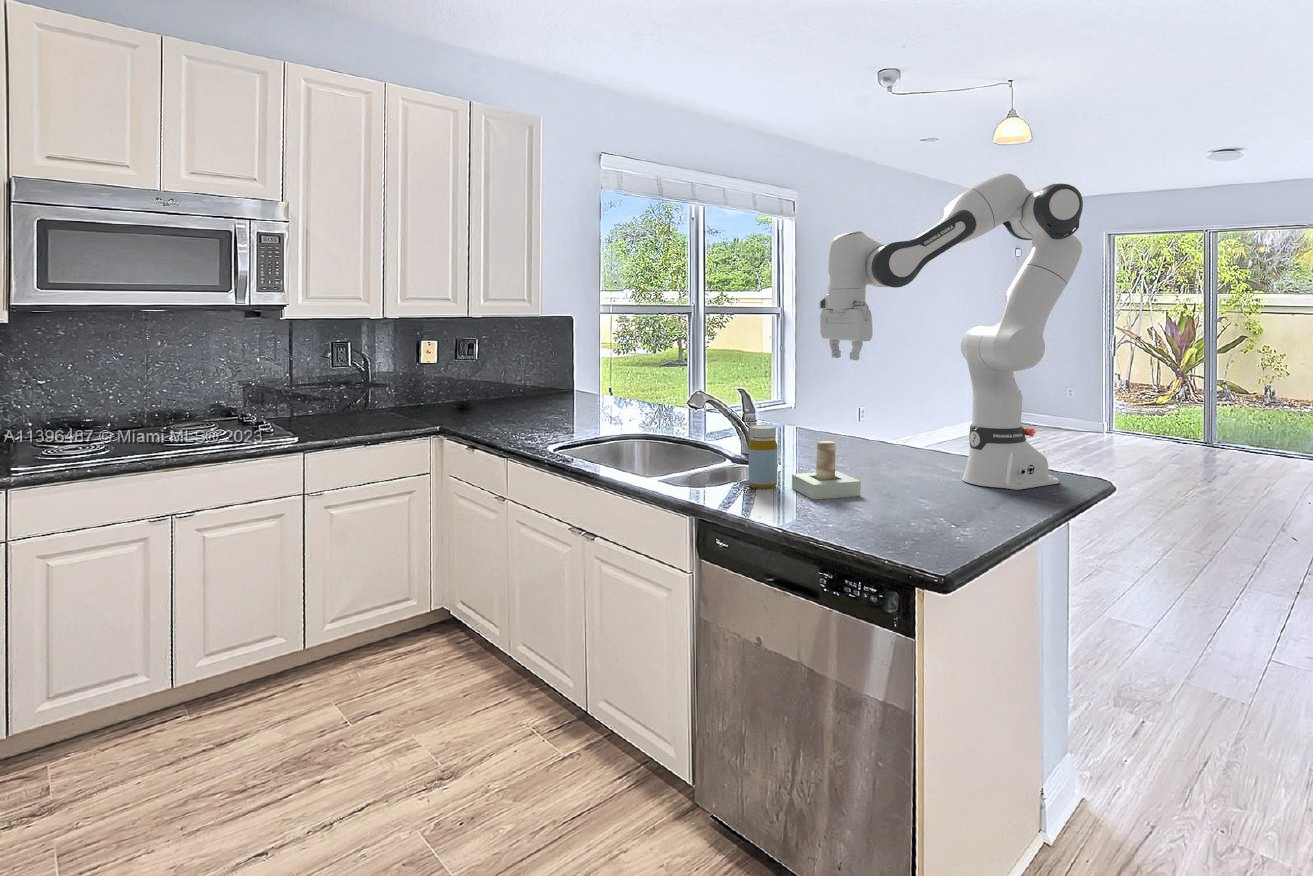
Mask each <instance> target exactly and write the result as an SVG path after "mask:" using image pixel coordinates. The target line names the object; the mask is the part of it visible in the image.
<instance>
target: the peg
mask: <svg viewBox="0 0 1313 876" xmlns="http://www.w3.org/2000/svg"><path fill="white" fill-rule="evenodd" d="M836 448H837V443H836V442H835V441H829V440H821V441H817V442H816V461H815V462H816V469H815V473H816V480H818V481H828V480H835V471H836V455H837V454H836V451H837V449H836Z"/></svg>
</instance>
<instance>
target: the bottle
mask: <svg viewBox="0 0 1313 876" xmlns="http://www.w3.org/2000/svg"><path fill="white" fill-rule="evenodd" d="M776 435H777V427H776V426H775V425H772V424H754V425H751V426H750V441H749V444H748V485H749V486H750V487H751V488H752V489H757V490H770V489H774V488H776V486H777V485H778V453H779V452H778V449H779V448H778V443H777V441H776V439H777V437H776Z"/></svg>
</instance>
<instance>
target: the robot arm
mask: <svg viewBox="0 0 1313 876" xmlns="http://www.w3.org/2000/svg"><path fill="white" fill-rule="evenodd" d="M1083 207H1084V201H1083V197H1082V194H1081V192H1080V191H1079V190H1078V188H1076V187H1075V186H1074V185H1071V184H1068V183H1053V184H1052V183H1051V184H1049V185H1047V186H1044V187H1041V188H1038V189H1035V190H1034V191H1032V190H1030V189H1028V188H1027V187H1026V185H1025V183H1024V182H1023V181H1022V179H1021V178H1020V177H1018V176H1017V175H1016V174H1013V173H1001V174H1000V175H996V176H994V177H992V178H991V177H990V178H989V179H987V180H984V181H982V182H979V183H978V184H976V185H974V186H973V187H971V188H968V189H967V190H965V191H964V192H962V193H961V194H959V195H958V196H957V197H955V198H954V199H953V200H952V201H950V202H949V203H948V204H947V205H946V206H945V207H944V209H943V211H942V215H941V216H942V217H941V220H940V221H939V222H938V223H936V224H934V225H933V226H932V227H930V228H929V229H927V230H925V231H924V232H922V233H921V234H919V235H917V236H915V237H914V238H912V239H910V240H901V241H895V242H891V243H889V244H887V245H886V244H883V243H881V242H878V241H876V240H874V239H873V238H870V237H869V236H868V235H867V234H865V232H863V231H852V232H847V233H844V234H840V235H838V236H836V237H835V238H834V239H833V240H832V241H831V243H830V247H829V253H828V255H829V256H828V270H827V271H828V274H829V284H828V288H827V294H826V295H825V296H824V297H823V298H822V299H821V300H819V304H818V305H819V306H818V308H819V310H821V311H820V317H819V319H820V320H819V321H820V322H819V323H820V325H819V327H820V335H821V338H822V339H825V340H828V341H829V342H828V344H829V347H830V350H831V358H833V359H840V358H841V354H842V353H841V352H842V351H841V350H840V347H839V344H840V341H850V342H851V346H852V348H851V352H849V360H850V361H859V360H860V352H861V351H862V349H863V342H871V340H872V337H873V332H874V331H873V316H872V315H873V314H872V312H871V310H870V307H869V306H868V304H867V301H866V292H867V291H866V290H867V289H866V288H867V285H868V286H869V285H870V286H873V287H877V288H903V287H905V286H906V285H907V286H908V284H911V283H912V281H914V280H915V278H917V276H918V275H919V273H921V271H922V269H923V268H924V267H925V266H926V265H927V264H928V263H929V262H931V261H932V260H933V259H936V258H937V257H938V256H940V255H942V254H943V253H945V252H946V251H948V250H949V249H951V248H952V247H954V246H956V245H959V244H961V243H965V242H968V241H969V242H970V241H972V240H975V239H977V238H979V237H981V236H982V235H985V234H987V233H989V232H990V231H992V230H994V229H996V228H997V227H999V226H1000V225H1003V226H1004V227H1005V228H1006V230H1007V232H1009V234H1010V235H1011V236H1012V237H1014V238H1016V239H1018V240H1021V241H1031V248H1030V251H1029V255H1028V256H1027V258H1026V259H1025V260H1024V262H1023V264H1022V266H1020V268H1019V270H1018V272H1017V274H1016V275H1015V277H1014V278H1013V280H1012V281H1011V283H1010V284H1009V287H1008V289H1007V290H1006V292H1005V295H1004V300H1005V307H1004V311H1003V314H1002V317H1001V319H1000V320H999V321H998V322H997V323H990V322H989V323H982V324H979V325H976V326H974V327H971V328H970V329H968V330H967V331H966V332H965V334H964V335H963V336H962V338H961V342H960V351H961V354H962V356H963V357H964V359H965V360H966V363H967V366H968V372H969V376H970V382H971V387H972V388H971V389H972V414H971V415H972V419H971V421H972V422H971V424H970V426H969V435H968V436H969V438H968V439H969V451H968V457H967V462H966V466H965V469H964V472H963V475H962V478H961V479H962V481H963V482H965V483H968V484H971V485H976V486H981V487H987V488H988V487H989V488H1000V489H1008V490H1009V489H1010V490H1024V489H1031V488H1036V487H1037V488H1038V487H1044V486H1045V487H1046V486H1051V485H1056V484H1059V483H1060V482H1059V478H1058V477H1056V476H1053V475H1051V474H1049V473H1050V472H1049V463H1048V459H1047V457H1046V456H1045V455H1044V454H1043V453H1041V452H1040V451H1039V450H1038V449H1036V448H1035V447H1034V446H1033V445H1031V444H1030V443H1029V442H1028V441H1027V438H1026V436H1029V437H1030V438H1032V437H1035V435H1036V430H1035V428H1034V427H1033V428H1030V427H1026V428H1024V427H1023V426H1022V414H1023V413H1022V412H1023V411H1022V408H1023V393H1022V391H1021V390H1020V388H1019V386H1018V385H1017V381H1016V377H1015V374H1014V373H1015V372H1018V371H1019V372H1020V371H1025V370H1028V369H1029V370H1030V369H1032V368H1034V367H1036V366H1037V365H1038V364H1039V363H1040V362H1041V360H1042V358H1043V357H1044V354H1045V350H1046V344H1045V340H1044V332H1045V328H1046V326H1047V321H1048V319H1049V317H1050V314H1051V312H1052V310H1053V309H1054V307H1055V305H1056V304H1057V302H1058V300H1059V298H1060V297H1061V295H1062V294H1063V293H1064V290H1065V289H1066V287H1067V285H1068V284H1069V282H1070V280H1071V278H1072V277H1073V274H1074V273H1075V270H1076V268H1077V266H1078V264H1079V261H1080V259H1081V257H1082V252H1083V246H1082V243H1081V240H1079V238H1077V237H1076V236H1075V235H1074V234H1075V233H1076V232H1077V231H1078V230H1079V228H1080V219H1081V216H1082V213H1083V210H1084V209H1083Z"/></svg>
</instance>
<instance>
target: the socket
mask: <svg viewBox="0 0 1313 876" xmlns="http://www.w3.org/2000/svg"><path fill="white" fill-rule="evenodd" d="M861 483H862V482H861V480H859V479H857V478H854V477H851V476H849V475H847V474H845V473H843V472H840V471H838V470H835V480H828V481H818V480H816V472H804V473H794V474H793V473H792V474H791V489H793V490H795V491H797V492H798V493H800V494H802V495H803V496H805V497H807V498H809V499H812V500H813V499H814V500H823V499H824V500H825V499H827V500H828V499H837V498H838V499H839V498H850V497H851V498H852V497H860V496H861V492H862V491H861V487H862V486H861V485H862V484H861Z"/></svg>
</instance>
